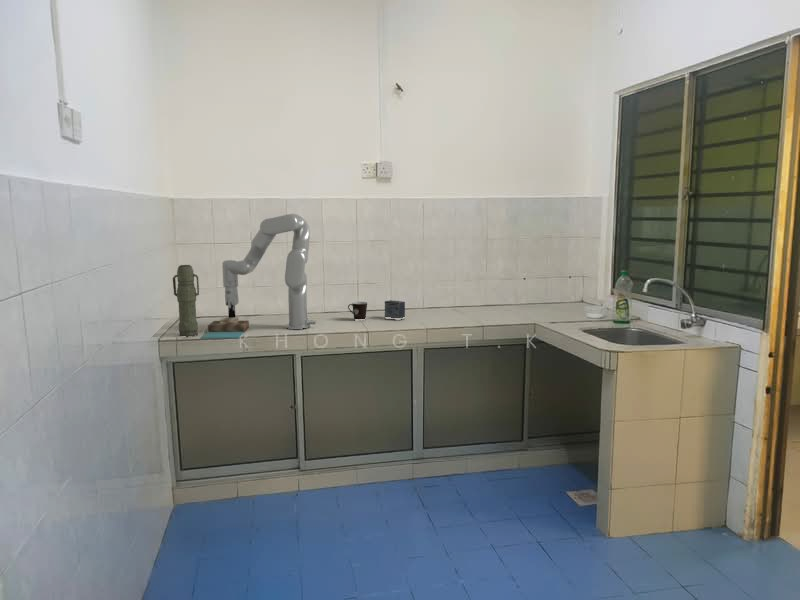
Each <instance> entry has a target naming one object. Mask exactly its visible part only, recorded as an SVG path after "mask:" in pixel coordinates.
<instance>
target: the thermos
mask: <svg viewBox="0 0 800 600" xmlns="http://www.w3.org/2000/svg"><path fill="white" fill-rule="evenodd" d="M176 278H177V283H176ZM195 278H196V286H195ZM172 284H173V285H172V288H173V295H174V296H175V297H177V298H176V299H177V303H178V314H179V316H178V319H179V322H178V332H179V337H181V336H186V337H185V338H189V337H188V336H192V337H195V335H196V336H198V335H199V333H198V332H199V331H198V330H199V326H198V320H197V309H196V308H197V307H196V304H197V303H196V301H197V297H198V296H199V295H200V288H199V276H198V275H197V274H195V273H194V269H193V267H192V265H190V264H180V265H178V268H177V271H176V274H175V275H174V276H173V277H172Z"/></svg>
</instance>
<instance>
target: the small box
mask: <svg viewBox="0 0 800 600" xmlns="http://www.w3.org/2000/svg"><path fill="white" fill-rule="evenodd" d="M405 305H406V302H405V301H401V300H384V318H385V317H391V318H403V317H405V318H406V309H405V308H406V306H405Z"/></svg>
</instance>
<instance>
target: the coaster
mask: <svg viewBox="0 0 800 600" xmlns="http://www.w3.org/2000/svg"><path fill="white" fill-rule="evenodd" d="M219 321H220V324H221V323H237V322H238V321H239V316H238V317H236V316H235V317H229V316H228V317H226V316H225V317H222V318H220V319H219Z"/></svg>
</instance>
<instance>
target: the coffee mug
mask: <svg viewBox="0 0 800 600" xmlns="http://www.w3.org/2000/svg"><path fill="white" fill-rule="evenodd" d="M350 306H351V307H352V310H351V308H350ZM347 309H348V311H350V313H351V314H353V320H354V319H365V318H366V317H367V309H368V302H367V301H353V302H352V303H350V304H348V306H347ZM365 320H366V319H365Z"/></svg>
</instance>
